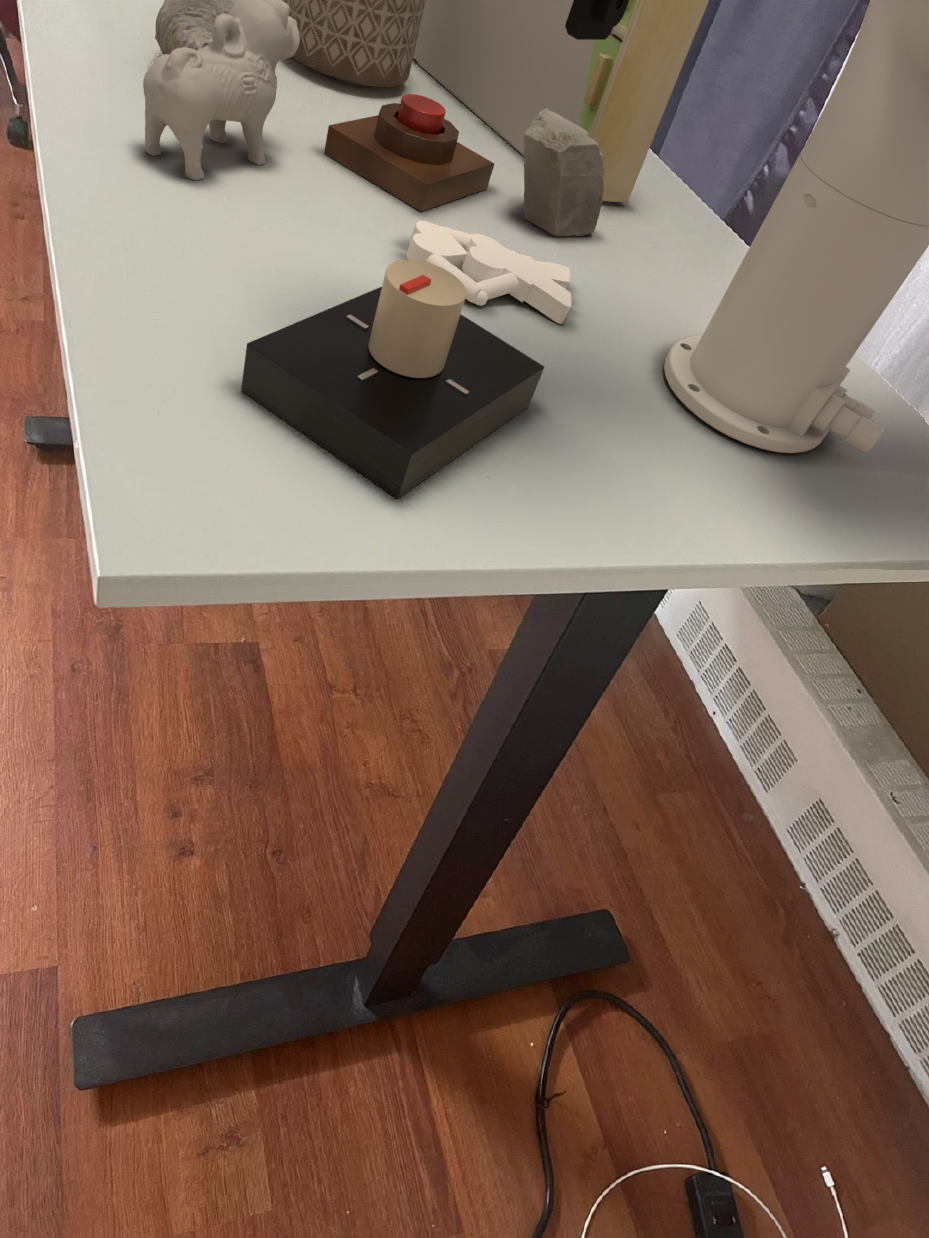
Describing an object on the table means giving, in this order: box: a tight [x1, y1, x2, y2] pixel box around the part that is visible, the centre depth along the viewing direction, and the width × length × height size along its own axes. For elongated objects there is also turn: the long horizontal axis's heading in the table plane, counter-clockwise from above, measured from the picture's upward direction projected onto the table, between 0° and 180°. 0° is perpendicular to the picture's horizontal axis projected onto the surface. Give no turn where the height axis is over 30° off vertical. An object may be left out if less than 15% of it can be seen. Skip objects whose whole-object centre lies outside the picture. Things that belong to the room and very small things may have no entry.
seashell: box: [154, 0, 235, 55], centre depth 74 cm, size 6×14×8 cm, turn 5°
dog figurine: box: [142, 0, 300, 181], centre depth 64 cm, size 5×13×11 cm, turn 149°
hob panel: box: [240, 286, 545, 499], centre depth 52 cm, size 14×11×3 cm
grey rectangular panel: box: [413, 0, 614, 157], centre depth 84 cm, size 29×8×18 cm, turn 33°
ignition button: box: [397, 93, 447, 135], centre depth 72 cm, size 4×4×2 cm
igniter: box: [323, 102, 495, 212], centre depth 74 cm, size 10×10×4 cm
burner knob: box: [368, 259, 466, 378], centre depth 49 cm, size 4×4×5 cm
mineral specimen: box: [523, 107, 605, 237], centre depth 73 cm, size 7×9×8 cm
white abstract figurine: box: [406, 220, 573, 325], centre depth 65 cm, size 9×12×2 cm
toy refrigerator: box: [579, 0, 710, 203], centre depth 77 cm, size 8×7×21 cm
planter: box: [281, 0, 426, 88], centre depth 83 cm, size 13×13×10 cm
